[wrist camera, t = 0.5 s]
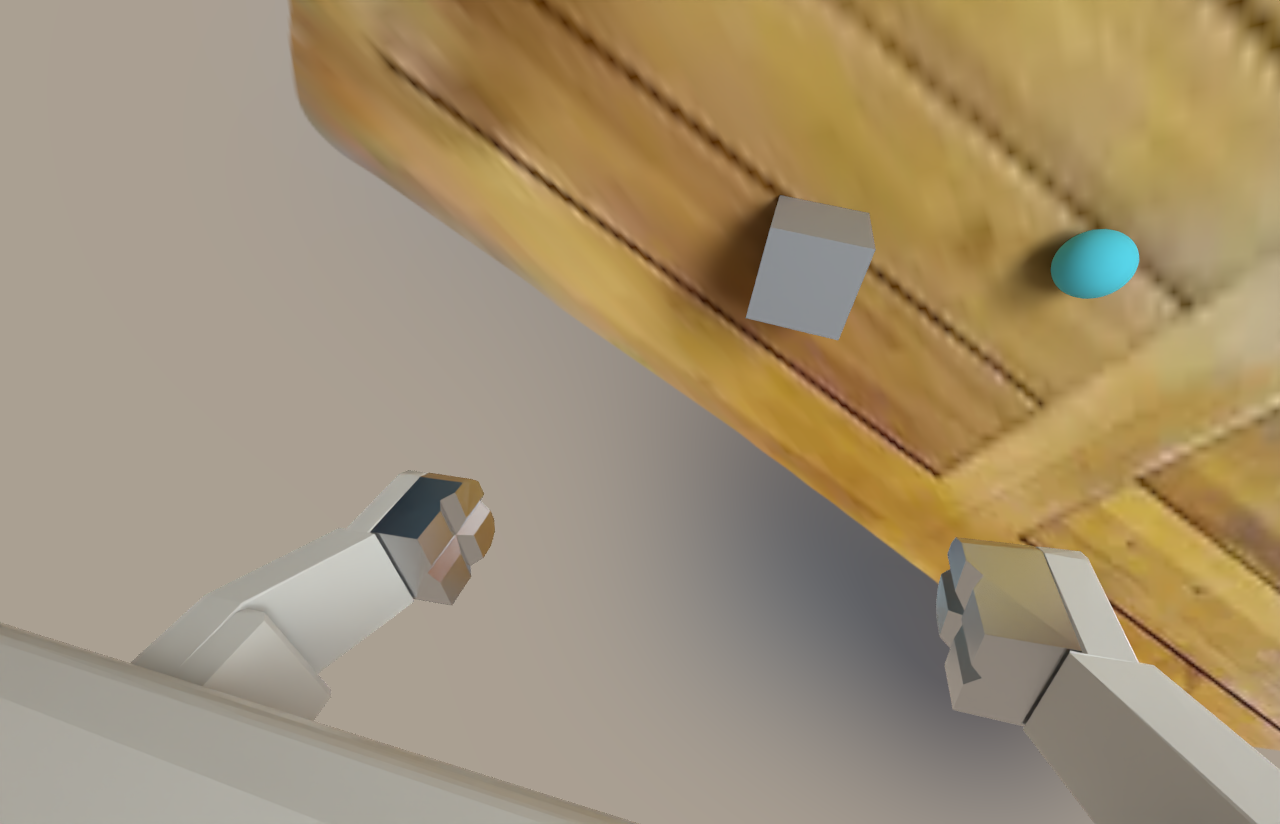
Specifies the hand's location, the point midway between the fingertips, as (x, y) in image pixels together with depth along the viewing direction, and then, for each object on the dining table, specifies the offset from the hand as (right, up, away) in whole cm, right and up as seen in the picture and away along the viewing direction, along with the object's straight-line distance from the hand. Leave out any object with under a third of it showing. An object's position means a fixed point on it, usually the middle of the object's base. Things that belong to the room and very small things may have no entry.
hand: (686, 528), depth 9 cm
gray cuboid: (+14, +17, +38) cm, 44 cm away
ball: (+33, +13, +30) cm, 47 cm away
